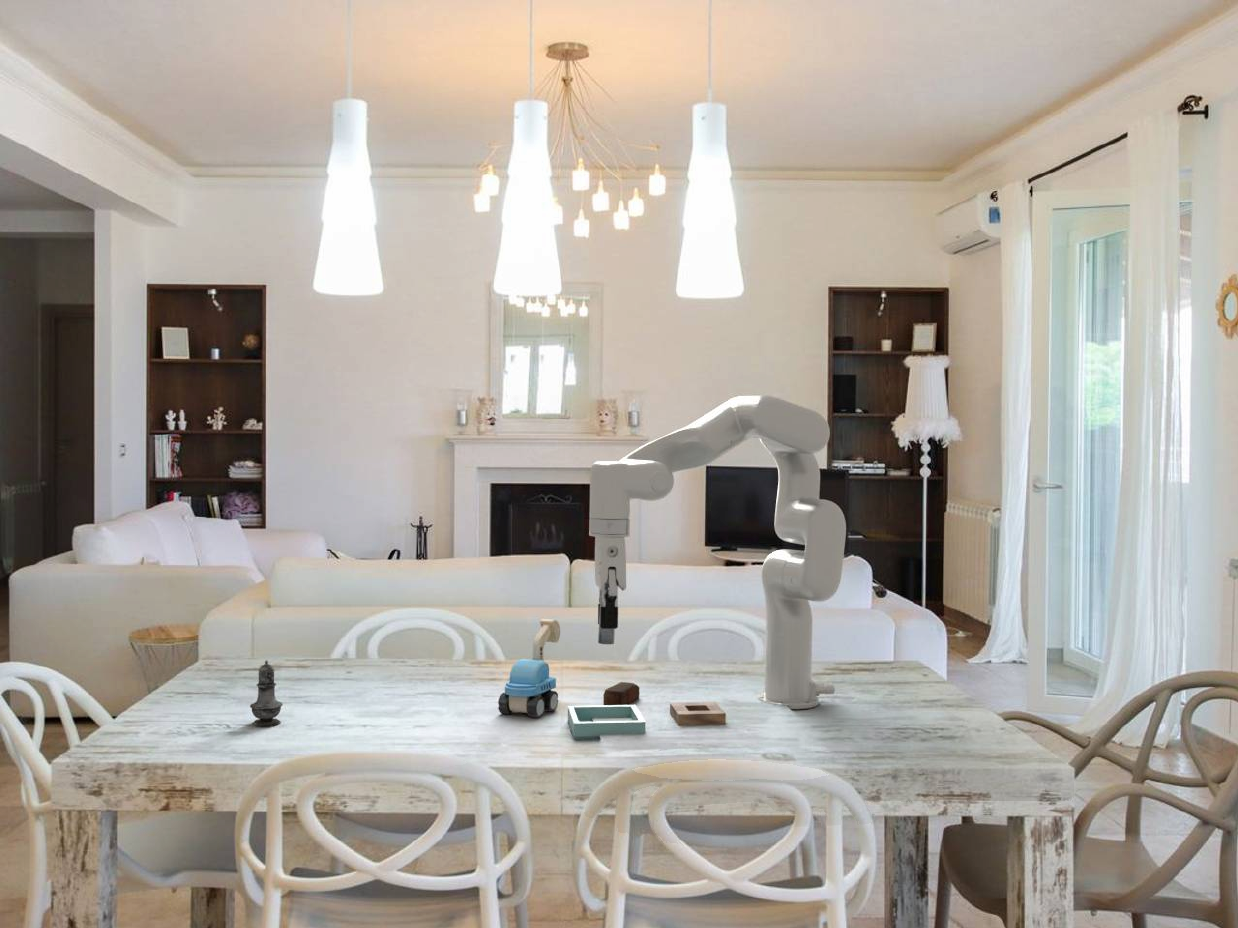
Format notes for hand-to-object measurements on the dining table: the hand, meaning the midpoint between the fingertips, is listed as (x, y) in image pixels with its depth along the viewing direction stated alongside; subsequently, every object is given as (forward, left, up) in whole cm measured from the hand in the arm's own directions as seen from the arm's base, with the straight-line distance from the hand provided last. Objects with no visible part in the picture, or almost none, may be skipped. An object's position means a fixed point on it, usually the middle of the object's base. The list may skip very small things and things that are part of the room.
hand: (607, 625), depth 215 cm
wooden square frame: (-18, -3, -20) cm, 27 cm away
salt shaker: (+63, -10, -20) cm, 67 cm away
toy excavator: (+12, -17, -20) cm, 29 cm away
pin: (0, 0, -3) cm, 3 cm away
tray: (0, 0, -20) cm, 20 cm away
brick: (-5, -17, -20) cm, 26 cm away
